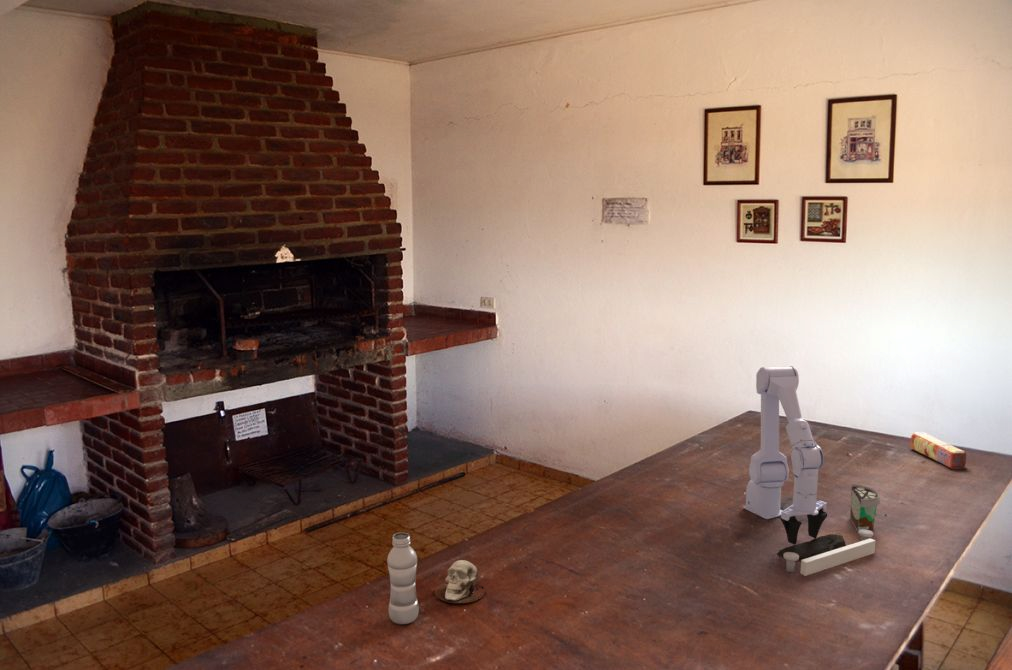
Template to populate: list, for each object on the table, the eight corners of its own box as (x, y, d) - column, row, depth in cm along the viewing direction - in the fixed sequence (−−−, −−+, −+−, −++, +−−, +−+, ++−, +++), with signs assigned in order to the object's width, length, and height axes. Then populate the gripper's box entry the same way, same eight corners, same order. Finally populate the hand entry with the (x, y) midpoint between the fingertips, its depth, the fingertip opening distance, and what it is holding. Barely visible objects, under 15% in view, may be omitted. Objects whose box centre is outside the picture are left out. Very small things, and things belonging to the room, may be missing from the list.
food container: (883, 536, 213) (886, 501, 211) (858, 534, 214) (861, 499, 212) (871, 517, 224) (874, 484, 223) (848, 516, 226) (851, 483, 224)
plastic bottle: (389, 613, 178) (386, 530, 174) (419, 611, 178) (416, 529, 174) (388, 629, 171) (384, 543, 167) (419, 627, 172) (416, 541, 168)
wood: (795, 568, 197) (796, 557, 196) (774, 556, 203) (774, 545, 203) (858, 550, 206) (859, 539, 206) (835, 539, 213) (836, 528, 212)
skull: (472, 608, 178) (445, 570, 179) (445, 626, 183) (419, 590, 184) (498, 583, 188) (472, 547, 189) (472, 601, 193) (447, 567, 195)
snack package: (967, 469, 262) (969, 449, 260) (949, 470, 261) (951, 451, 259) (924, 448, 282) (926, 430, 281) (907, 449, 281) (909, 431, 280)
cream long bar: (779, 569, 195) (780, 554, 195) (863, 542, 209) (864, 528, 208) (797, 578, 191) (797, 563, 190) (881, 550, 204) (883, 536, 204)
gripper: (797, 501, 199) (794, 551, 201) (837, 491, 205) (834, 539, 208) (775, 492, 205) (773, 541, 207) (815, 482, 211) (812, 529, 214)
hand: (802, 539), depth 208 cm, fingers open, 7 cm apart
